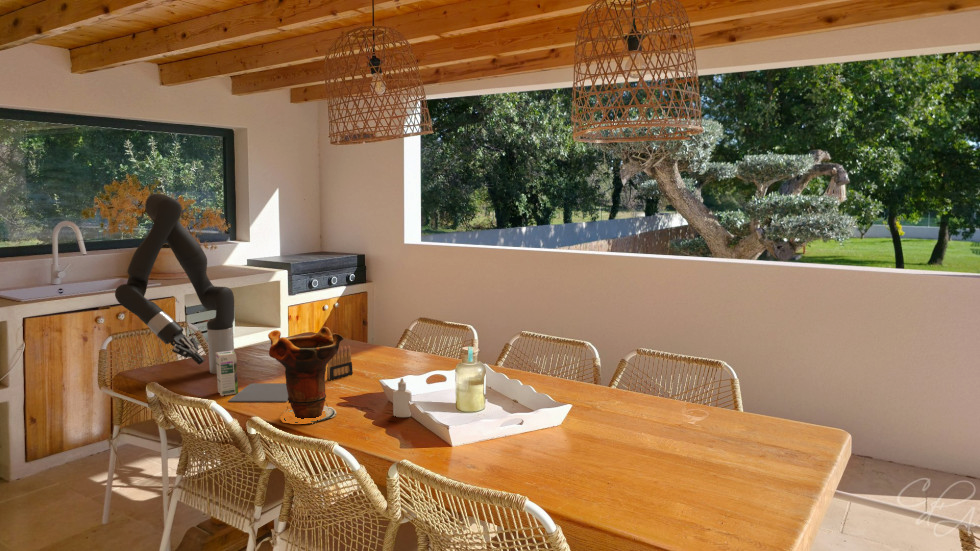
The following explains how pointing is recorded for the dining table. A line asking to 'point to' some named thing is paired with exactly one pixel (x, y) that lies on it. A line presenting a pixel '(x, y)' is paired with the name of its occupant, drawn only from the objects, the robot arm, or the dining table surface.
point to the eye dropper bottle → (401, 400)
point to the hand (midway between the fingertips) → (202, 362)
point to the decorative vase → (306, 369)
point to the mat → (262, 393)
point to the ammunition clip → (340, 364)
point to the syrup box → (227, 373)
